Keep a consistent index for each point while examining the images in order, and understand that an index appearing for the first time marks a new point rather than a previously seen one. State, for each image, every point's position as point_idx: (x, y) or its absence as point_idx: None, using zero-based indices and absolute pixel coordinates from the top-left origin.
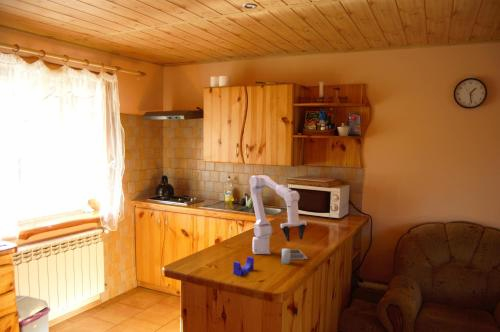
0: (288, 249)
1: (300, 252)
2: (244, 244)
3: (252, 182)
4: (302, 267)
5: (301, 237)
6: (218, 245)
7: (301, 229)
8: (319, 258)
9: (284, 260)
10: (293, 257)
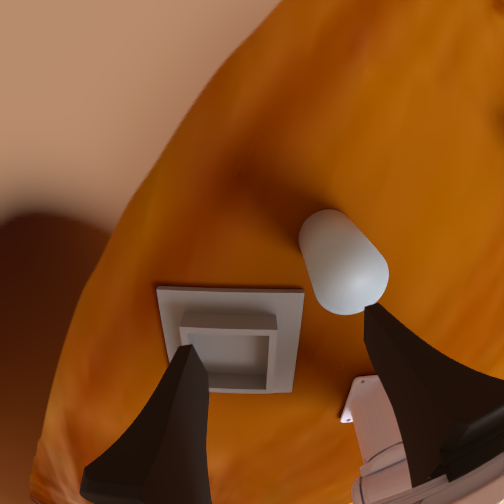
0: (330, 286)
1: None
2: None
3: None
4: (237, 128)
5: (186, 359)
6: None
7: (168, 458)
8: (91, 295)
9: (351, 221)
10: (249, 312)
